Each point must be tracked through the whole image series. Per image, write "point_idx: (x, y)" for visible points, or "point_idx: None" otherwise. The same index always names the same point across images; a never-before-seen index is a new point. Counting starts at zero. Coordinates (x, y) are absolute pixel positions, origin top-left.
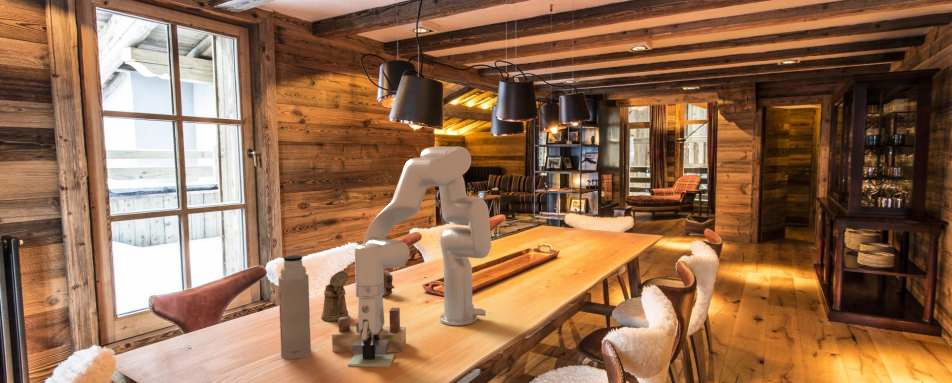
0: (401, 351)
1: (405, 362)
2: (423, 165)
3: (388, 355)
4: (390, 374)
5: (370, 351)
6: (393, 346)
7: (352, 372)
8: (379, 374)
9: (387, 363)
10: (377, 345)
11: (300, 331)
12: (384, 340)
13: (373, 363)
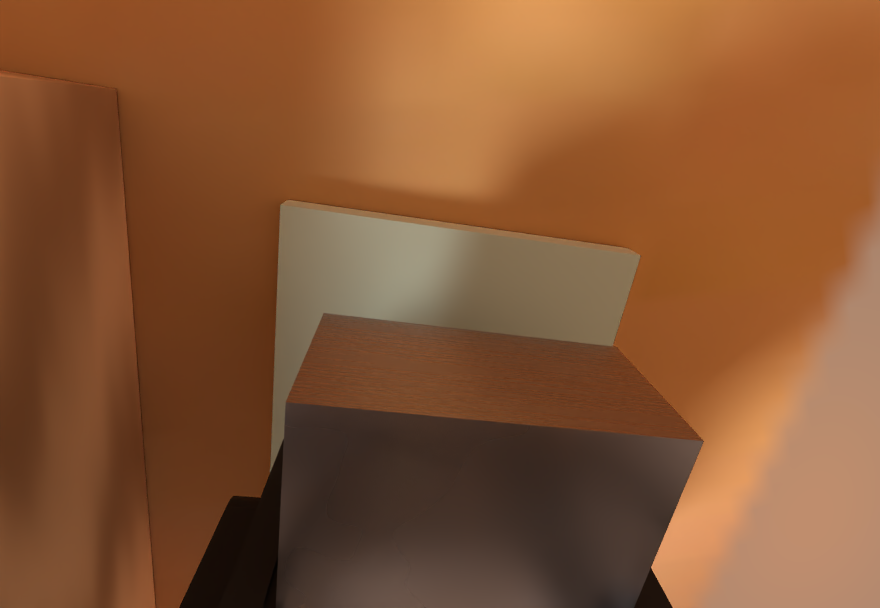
0: (112, 90)
1: (535, 9)
2: None
3: (328, 283)
4: (853, 210)
5: (663, 593)
6: (72, 238)
7: (661, 560)
8: (800, 331)
9: (607, 274)
10: (638, 579)
11: None
12: (359, 494)
13: None
